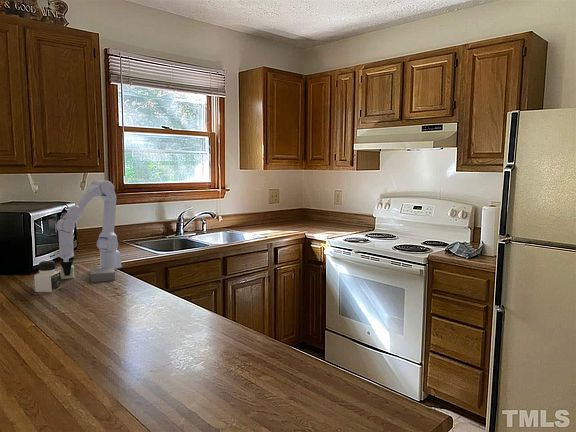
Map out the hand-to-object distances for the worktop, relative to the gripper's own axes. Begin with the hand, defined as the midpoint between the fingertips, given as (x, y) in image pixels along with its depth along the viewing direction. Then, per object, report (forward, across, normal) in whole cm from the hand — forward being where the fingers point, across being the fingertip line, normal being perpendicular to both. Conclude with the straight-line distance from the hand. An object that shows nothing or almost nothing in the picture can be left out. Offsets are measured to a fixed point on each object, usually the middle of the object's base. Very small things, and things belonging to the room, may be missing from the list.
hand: (67, 274), depth 203 cm
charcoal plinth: (+2, +8, +15) cm, 17 cm away
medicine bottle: (+2, +19, -6) cm, 20 cm away
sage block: (+1, 0, 0) cm, 1 cm away
